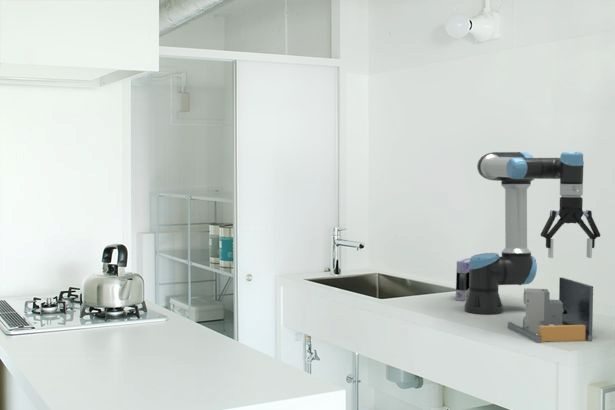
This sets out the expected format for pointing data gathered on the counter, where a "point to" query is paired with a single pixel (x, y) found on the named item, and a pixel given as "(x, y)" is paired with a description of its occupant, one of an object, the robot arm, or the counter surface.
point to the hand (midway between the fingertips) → (569, 257)
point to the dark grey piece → (569, 308)
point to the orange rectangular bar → (562, 333)
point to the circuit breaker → (541, 310)
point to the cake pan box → (462, 279)
